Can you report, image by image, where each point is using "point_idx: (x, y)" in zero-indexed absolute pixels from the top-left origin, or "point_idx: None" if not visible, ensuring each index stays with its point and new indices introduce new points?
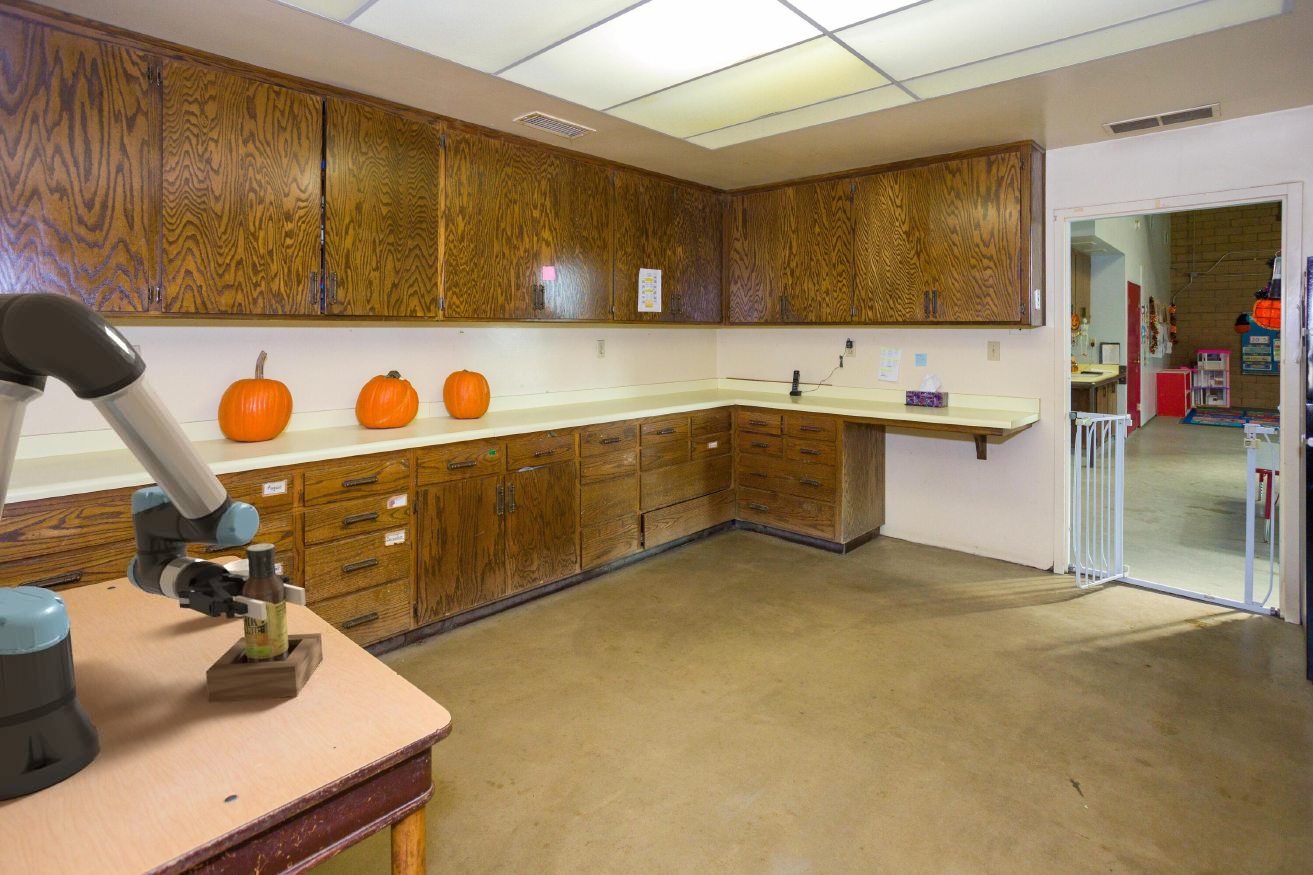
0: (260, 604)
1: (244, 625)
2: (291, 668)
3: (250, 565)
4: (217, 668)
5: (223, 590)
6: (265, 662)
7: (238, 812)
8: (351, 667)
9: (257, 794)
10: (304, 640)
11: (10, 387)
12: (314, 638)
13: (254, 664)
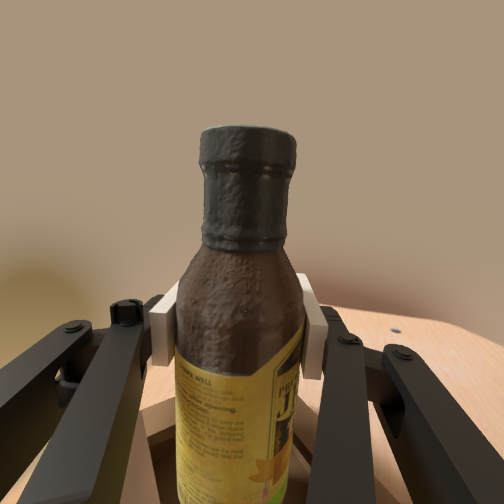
0: (305, 276)
1: (295, 408)
2: None
3: (287, 202)
4: (377, 498)
5: (323, 446)
6: None
7: (393, 320)
8: (150, 400)
9: (377, 322)
10: (156, 426)
11: None
12: (142, 414)
13: (300, 425)
